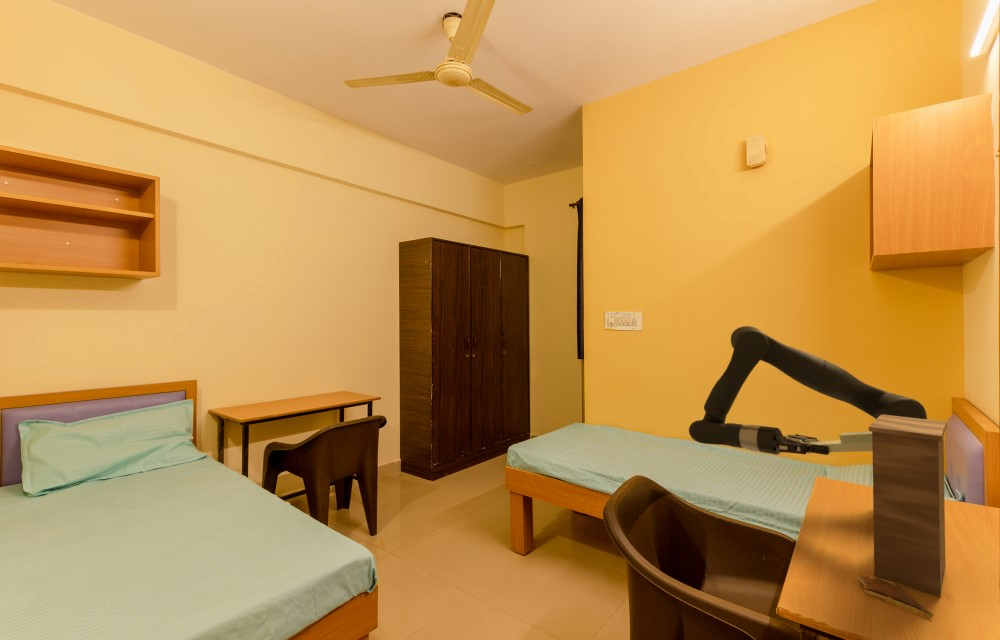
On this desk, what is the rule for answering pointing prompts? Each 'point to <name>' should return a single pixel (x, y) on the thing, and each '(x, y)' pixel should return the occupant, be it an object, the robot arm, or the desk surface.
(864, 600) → the desk surface
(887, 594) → the shard
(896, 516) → the walnut stand
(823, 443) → the cream plank with block
